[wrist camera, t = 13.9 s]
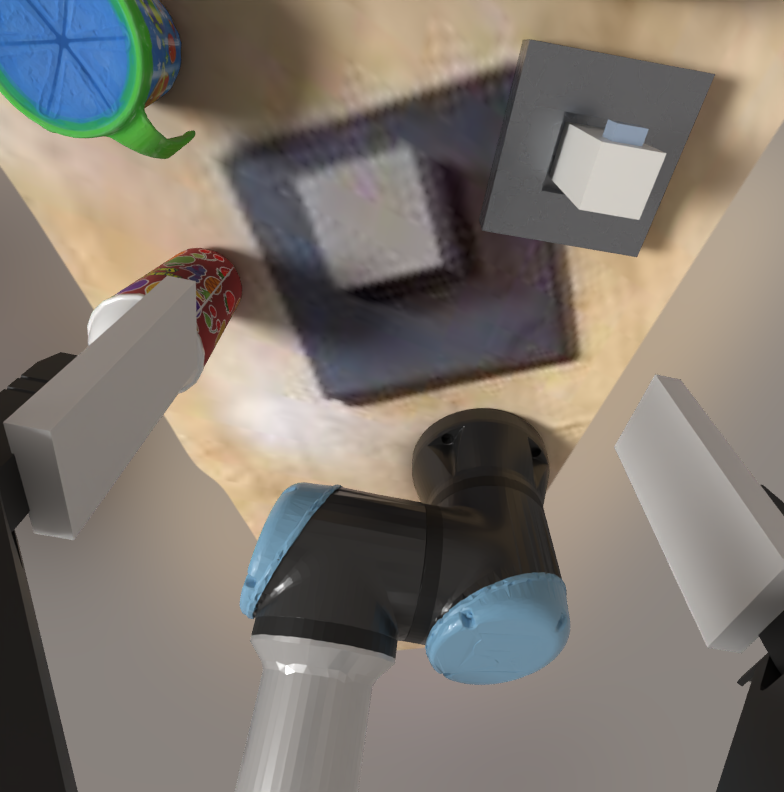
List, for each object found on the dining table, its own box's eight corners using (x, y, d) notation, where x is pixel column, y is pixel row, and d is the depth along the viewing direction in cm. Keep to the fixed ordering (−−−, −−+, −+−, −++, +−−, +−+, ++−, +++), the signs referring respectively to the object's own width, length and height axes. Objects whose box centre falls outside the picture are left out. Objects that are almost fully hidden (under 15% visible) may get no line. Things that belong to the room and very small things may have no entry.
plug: (597, 185, 42) (639, 220, 34) (548, 176, 42) (578, 209, 34) (622, 116, 39) (674, 135, 31) (570, 106, 39) (608, 123, 31)
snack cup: (3, -39, 37) (-122, -63, 29) (114, -132, 34) (12, -189, 26) (148, 174, 45) (83, 204, 36) (250, 113, 42) (205, 131, 33)
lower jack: (625, 245, 46) (637, 257, 43) (479, 220, 45) (482, 230, 43) (696, 72, 38) (715, 74, 36) (523, 39, 38) (529, 39, 35)
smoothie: (204, 215, 46) (80, 311, 30) (272, 285, 50) (195, 407, 33) (148, 271, 50) (7, 386, 33) (215, 334, 53) (119, 467, 36)
